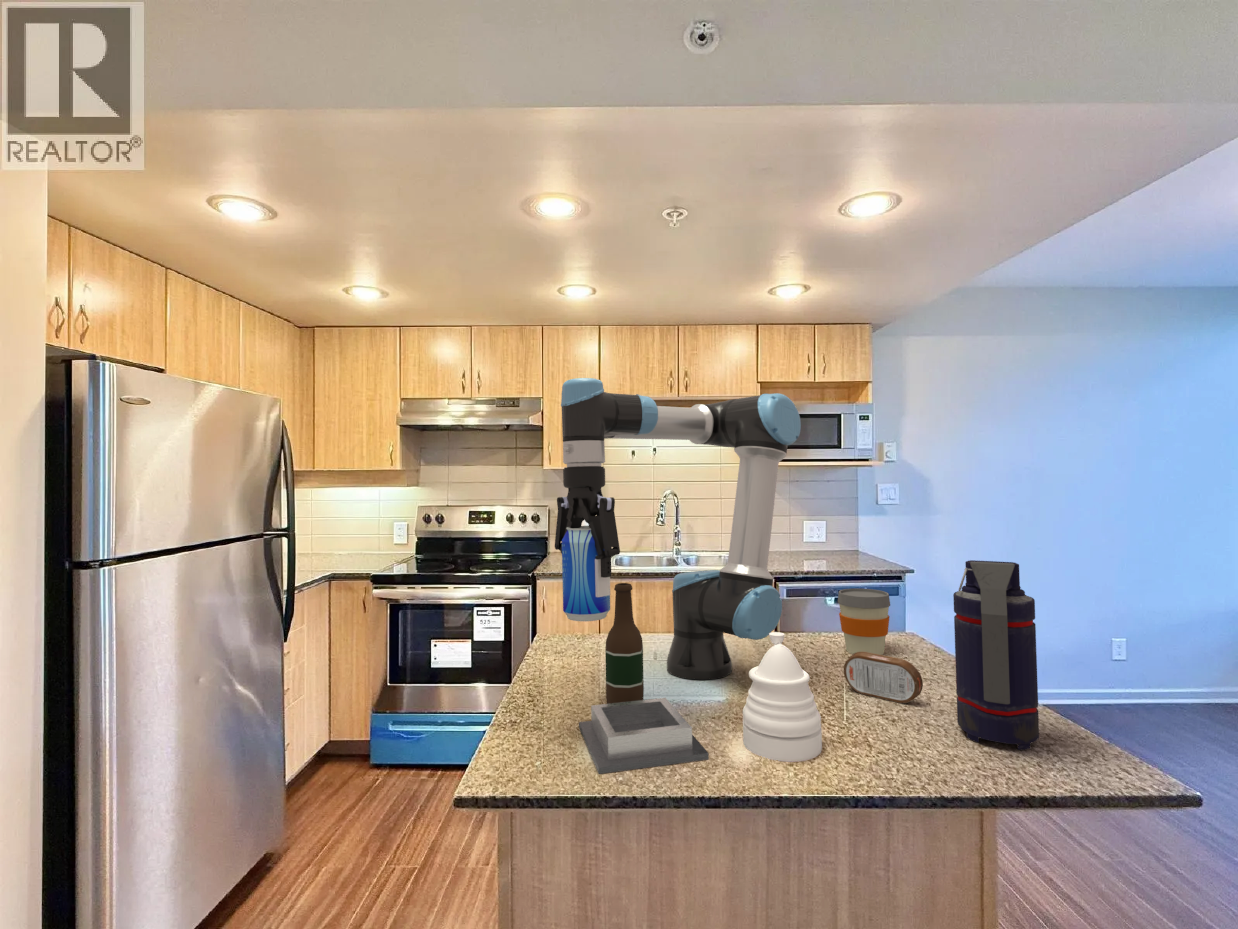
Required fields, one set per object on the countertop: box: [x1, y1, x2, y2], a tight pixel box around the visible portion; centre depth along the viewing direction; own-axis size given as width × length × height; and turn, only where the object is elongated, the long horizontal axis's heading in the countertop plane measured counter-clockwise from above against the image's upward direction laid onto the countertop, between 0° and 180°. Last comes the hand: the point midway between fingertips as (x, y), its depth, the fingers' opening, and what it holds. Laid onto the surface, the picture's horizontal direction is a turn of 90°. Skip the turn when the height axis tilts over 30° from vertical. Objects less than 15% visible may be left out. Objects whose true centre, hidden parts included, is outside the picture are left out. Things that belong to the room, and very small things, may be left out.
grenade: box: [952, 559, 1040, 751], centre depth 103 cm, size 14×12×30 cm
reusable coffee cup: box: [837, 588, 891, 655], centre depth 155 cm, size 13×13×15 cm
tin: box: [843, 652, 924, 704], centre depth 123 cm, size 15×3×8 cm, turn 47°
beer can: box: [561, 525, 611, 622], centre depth 108 cm, size 8×8×16 cm
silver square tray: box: [578, 697, 710, 775], centre depth 103 cm, size 18×18×4 cm
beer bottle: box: [604, 582, 645, 704], centre depth 121 cm, size 8×8×24 cm
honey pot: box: [742, 631, 823, 763], centre depth 102 cm, size 13×13×18 cm
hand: (586, 592), depth 108 cm, fingers closed on beer can, 8 cm apart
